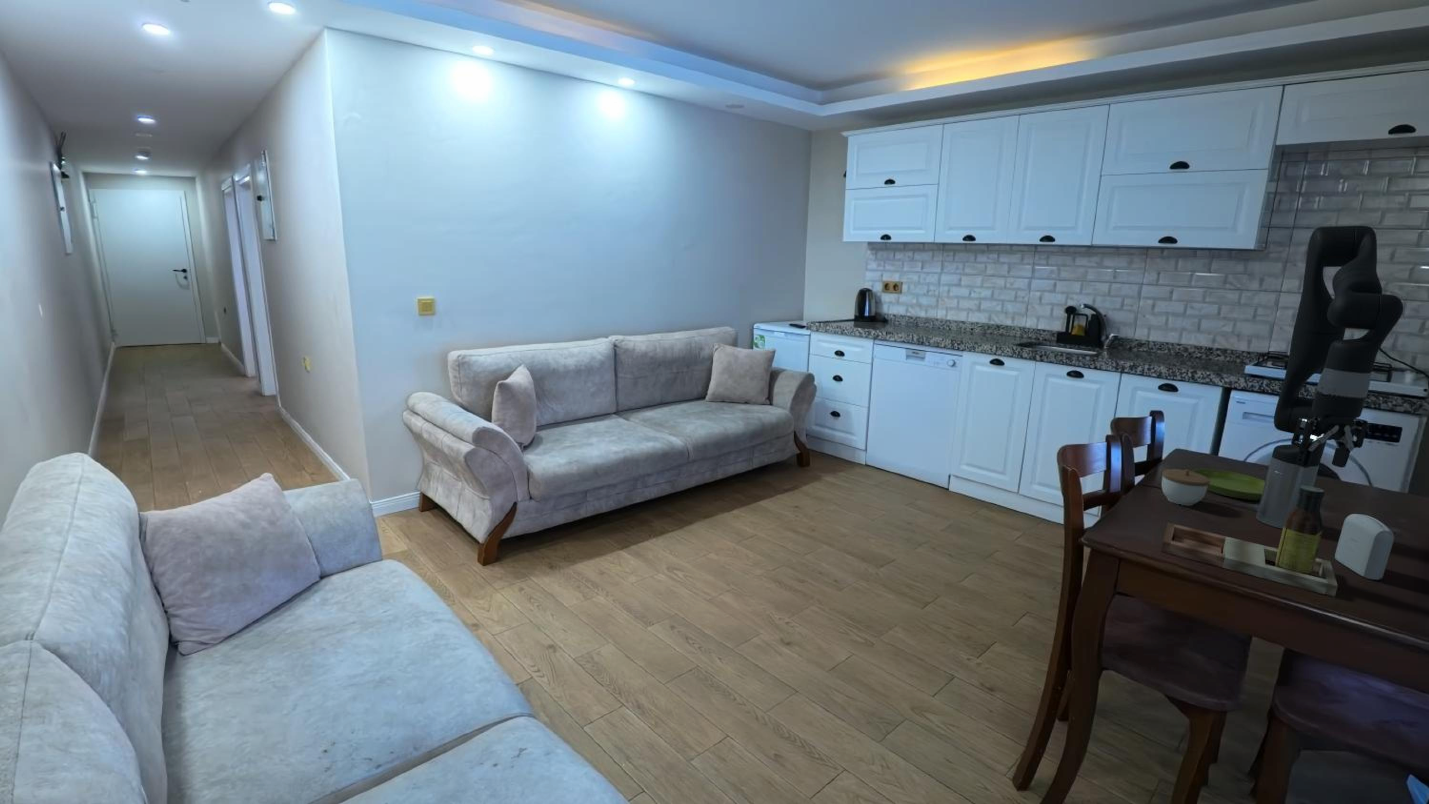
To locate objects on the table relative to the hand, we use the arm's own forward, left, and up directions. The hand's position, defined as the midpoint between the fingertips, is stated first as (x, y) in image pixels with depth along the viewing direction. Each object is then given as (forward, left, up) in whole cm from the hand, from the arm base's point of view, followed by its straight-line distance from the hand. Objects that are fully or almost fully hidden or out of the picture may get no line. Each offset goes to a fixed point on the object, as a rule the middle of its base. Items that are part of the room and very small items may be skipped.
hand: (1320, 466), depth 137 cm
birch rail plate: (+6, -6, -25) cm, 26 cm away
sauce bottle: (0, 0, -25) cm, 25 cm away
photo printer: (-18, -1, -25) cm, 31 cm away
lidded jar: (-9, -40, -25) cm, 48 cm away
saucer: (-33, -48, -26) cm, 63 cm away
